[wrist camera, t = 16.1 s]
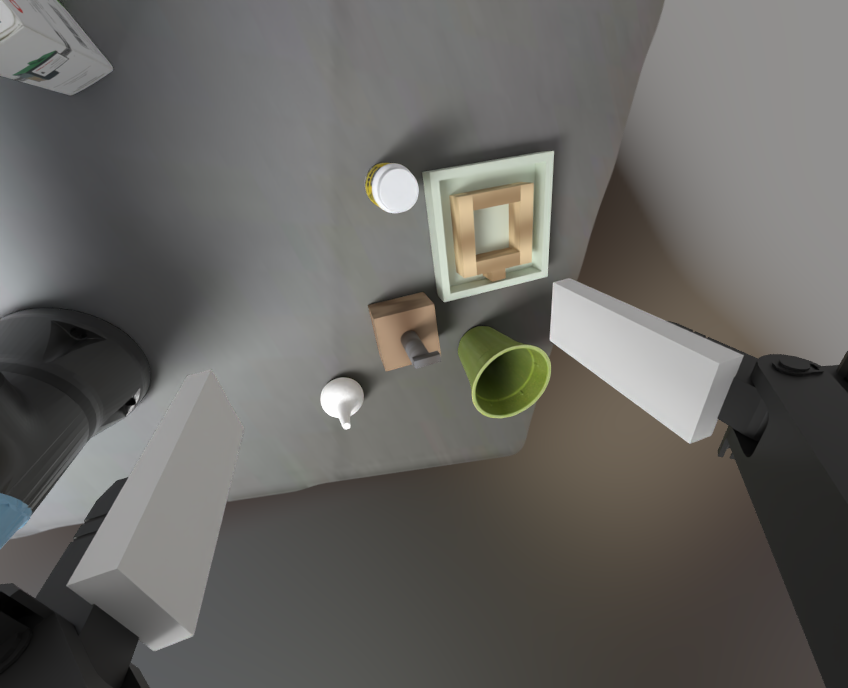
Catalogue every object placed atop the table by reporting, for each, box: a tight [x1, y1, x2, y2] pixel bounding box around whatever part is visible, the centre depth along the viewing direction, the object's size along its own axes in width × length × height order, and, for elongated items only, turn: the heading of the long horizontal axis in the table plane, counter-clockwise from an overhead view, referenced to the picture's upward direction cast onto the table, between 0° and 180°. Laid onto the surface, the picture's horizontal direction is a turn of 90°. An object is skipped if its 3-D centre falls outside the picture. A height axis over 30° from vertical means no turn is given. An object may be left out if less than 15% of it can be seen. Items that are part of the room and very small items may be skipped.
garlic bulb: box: [321, 377, 364, 429], centre depth 48 cm, size 6×6×8 cm
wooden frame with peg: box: [449, 182, 534, 282], centre depth 45 cm, size 11×10×3 cm
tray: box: [422, 151, 554, 302], centre depth 45 cm, size 16×16×3 cm
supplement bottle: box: [365, 163, 419, 213], centre depth 37 cm, size 5×5×8 cm
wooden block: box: [368, 292, 441, 371], centre depth 44 cm, size 8×8×11 cm
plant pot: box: [458, 326, 551, 418], centre depth 50 cm, size 12×12×11 cm
